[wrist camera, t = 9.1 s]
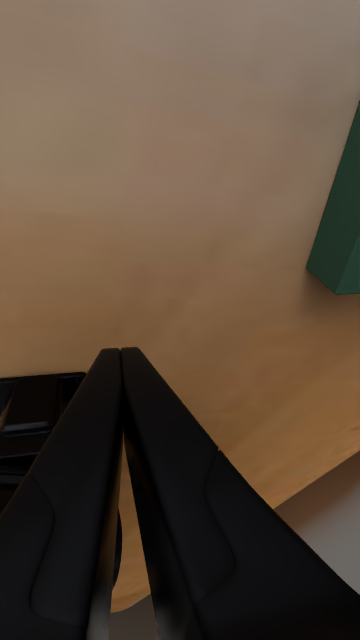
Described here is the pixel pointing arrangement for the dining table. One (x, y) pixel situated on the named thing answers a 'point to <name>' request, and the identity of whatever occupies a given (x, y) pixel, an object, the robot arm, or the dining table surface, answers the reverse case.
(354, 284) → the green bar
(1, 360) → the dining table surface
